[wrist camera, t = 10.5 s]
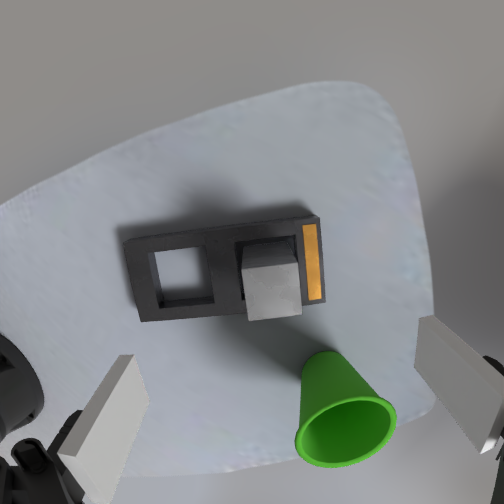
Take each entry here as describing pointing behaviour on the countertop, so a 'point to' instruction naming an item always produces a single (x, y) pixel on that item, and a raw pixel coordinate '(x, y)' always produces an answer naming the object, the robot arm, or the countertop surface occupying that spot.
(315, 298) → the dark grey flat frame
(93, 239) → the countertop surface
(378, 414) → the cup
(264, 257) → the gray squarish block
